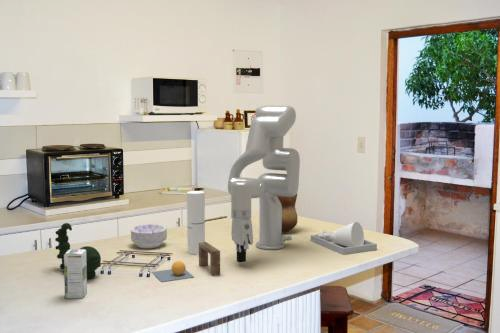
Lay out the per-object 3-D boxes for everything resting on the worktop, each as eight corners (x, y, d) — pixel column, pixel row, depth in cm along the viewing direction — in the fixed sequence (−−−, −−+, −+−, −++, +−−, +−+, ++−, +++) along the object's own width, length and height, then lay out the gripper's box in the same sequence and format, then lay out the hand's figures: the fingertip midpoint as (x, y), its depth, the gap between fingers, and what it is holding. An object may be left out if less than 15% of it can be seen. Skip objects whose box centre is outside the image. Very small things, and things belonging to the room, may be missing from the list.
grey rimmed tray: (341, 236, 248) (342, 231, 248) (376, 249, 225) (376, 244, 225) (310, 240, 240) (310, 235, 240) (343, 254, 218) (343, 248, 218)
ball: (169, 274, 193) (182, 272, 195) (174, 277, 188) (187, 276, 191) (169, 260, 192) (182, 259, 195) (174, 263, 188) (187, 262, 190)
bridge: (206, 264, 205) (206, 241, 204) (220, 274, 192) (220, 250, 191) (198, 265, 204) (198, 242, 203) (212, 275, 191) (212, 251, 190)
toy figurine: (51, 275, 197) (88, 284, 180) (46, 224, 196) (83, 228, 179) (74, 269, 204) (112, 277, 187) (70, 220, 203) (108, 223, 186)
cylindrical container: (202, 254, 218) (201, 193, 215) (185, 253, 219) (184, 193, 216) (207, 250, 225) (206, 191, 222) (190, 249, 226) (190, 190, 223)
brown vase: (298, 235, 251) (298, 182, 248) (269, 235, 251) (269, 182, 248) (296, 228, 265) (296, 178, 262) (269, 228, 265) (269, 178, 262)
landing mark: (183, 268, 200) (183, 267, 200) (194, 277, 189) (194, 276, 189) (151, 272, 195) (151, 271, 195) (161, 282, 184) (161, 281, 184)
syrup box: (69, 292, 174) (67, 248, 172) (87, 292, 174) (86, 248, 172) (64, 299, 168) (62, 253, 166) (84, 298, 168) (82, 253, 167)
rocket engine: (317, 220, 237) (353, 216, 226) (329, 233, 244) (365, 230, 233) (311, 243, 231) (349, 240, 220) (324, 256, 238) (361, 254, 227)
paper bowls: (142, 252, 221) (142, 233, 220) (124, 245, 232) (124, 227, 232) (173, 246, 231) (173, 228, 230) (155, 239, 242) (154, 222, 242)
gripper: (259, 216, 196) (259, 265, 198) (242, 209, 210) (242, 255, 212) (240, 218, 193) (240, 268, 195) (224, 211, 206) (224, 257, 208)
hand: (241, 261), depth 203 cm, fingers closed
